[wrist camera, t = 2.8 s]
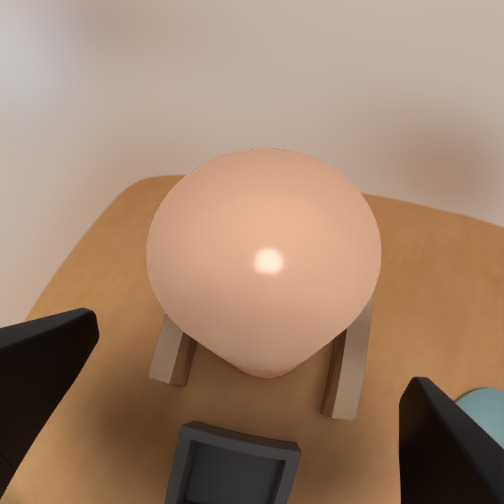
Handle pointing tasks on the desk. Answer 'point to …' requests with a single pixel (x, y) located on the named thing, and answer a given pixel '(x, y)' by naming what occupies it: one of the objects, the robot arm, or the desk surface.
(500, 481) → the robot arm
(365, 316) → the channel
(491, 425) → the pad
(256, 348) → the canister
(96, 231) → the desk surface
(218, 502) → the tray
